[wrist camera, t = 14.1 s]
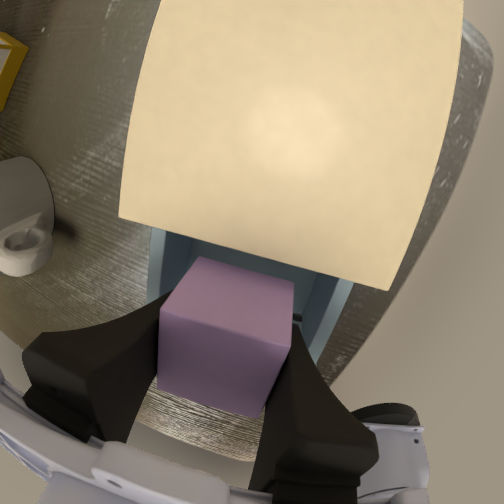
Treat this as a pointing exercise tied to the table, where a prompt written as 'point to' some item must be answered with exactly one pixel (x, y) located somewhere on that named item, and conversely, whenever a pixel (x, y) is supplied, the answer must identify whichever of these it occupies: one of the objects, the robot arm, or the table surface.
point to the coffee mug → (24, 217)
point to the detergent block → (224, 336)
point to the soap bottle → (9, 64)
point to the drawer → (305, 281)
